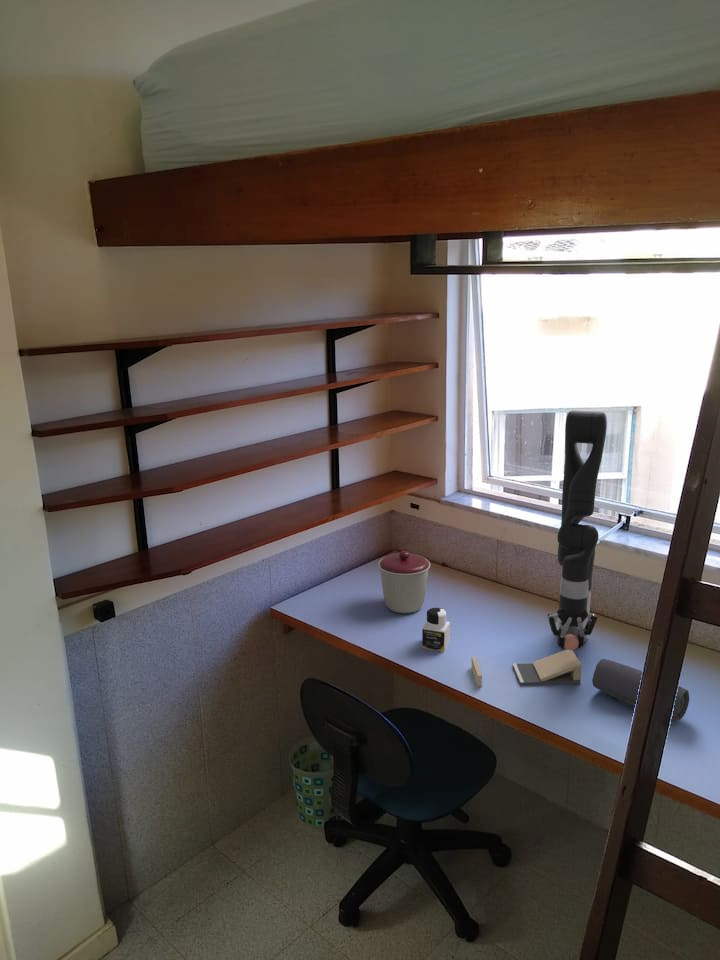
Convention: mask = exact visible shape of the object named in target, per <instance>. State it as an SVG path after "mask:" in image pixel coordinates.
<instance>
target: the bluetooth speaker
mask: <svg viewBox="0 0 720 960" xmlns="http://www.w3.org/2000/svg"><path fill="white" fill-rule="evenodd" d="M641 675H642V670H640V669H637V668H635V667H632V666H629V665H627V664H626V665H625V664H622V663H620V662H618V661H614V660H610V659H606V658H601V659H600V660H599V661H598V662H597V664H596V665H595V668H594V673H593V676H592V681H591V682H592V686H593V687H594V688H595V689H596V690H599V691H600V692H603V693H606V694H607V695H610V696H612V697H613V698H615V699H617V700H618V702H620V703H621V704H624V705H626V706H628V707H631V708H632V707H633V709H635V708H634V707H635V704H636V700H637V695H638V689H639V685H640V680H641ZM678 686H679V687H678V692H677V696H676V700H675V705H674V711H673V716H672V719H671V720H673V721H676V722H680V721H681V720H682V719H683V718H684V716H685V714H686V712H687V710H688V707H689V704H690V692H689V690H688V689H686V688H684V687H682V686H680V685H678Z"/></svg>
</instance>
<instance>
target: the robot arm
mask: <svg viewBox="0 0 720 960" xmlns="http://www.w3.org/2000/svg"><path fill="white" fill-rule="evenodd" d="M564 426H565V427H564V432H565V434H564V439H565V440H564V442H565V443H564V447H565V449H564V453H565V454H564V457H565V458H564V459H565V460H564V470H563V471H564V472H563V481H562V482H563V483H562V492H561V493H562V495H561V522H560V527H559V530H558V532H557V543H558V545H557V562H558V564H559V566H561V567H562V571H561V578H560V585H559V586H560V587H559V600H558V601H559V602H558V610H557V612H556V613H553V614H551V613H547V619H548V622H549V627H550V630H551V631H550V632H551V633H552V634H553V635H554V636H555V637H557V645H558V648H560V650H565V647H564V641H565V638H564V637H565V636H566V635H568V634H572V635H575V636H576V637H577V638H578V641H579V644H578V647H577V649H579V650H580V649H582V647H584V643H585V642H586V641H587V640H588V636H590V635H591V634H592V633H593V629H594V627H595V625H596V623H597V621H598V616H597V615H596V613H594V612H590V608H591V597H592V596H591V595H592V584H593V583H592V582H593V581H592V580H593V579H592V578H593V570H594V564H595V556H596V547H597V545H598V542H599V532H598V530H597V528H596V527H595V525H591V524H584V523H583V524H582V523H581V524H580V522H581V521H582V520H584V518H587V517H590V516H592V515H593V513H594V511H595V500H596V490H597V488H596V487H597V481H598V477H599V471H600V468H601V464H602V458H603V454H604V453H603V452H604V449H605V444H606V443H605V442H606V437H607V429H608V419H607V415H606V413H605V412H604V411H600V410H599V411H597V410H582V409H574V410H570V411H569V412H568V413H567V415H566V419H565V425H564ZM578 444H592V447H591V450H590V454H589V456H588V458H587V459H586V460H585V462H584V461H583V459H582V457H581V455H580V452H579V448H578ZM557 622H558V623H557ZM556 623H557V624H556ZM556 625H557V626H556Z"/></svg>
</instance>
